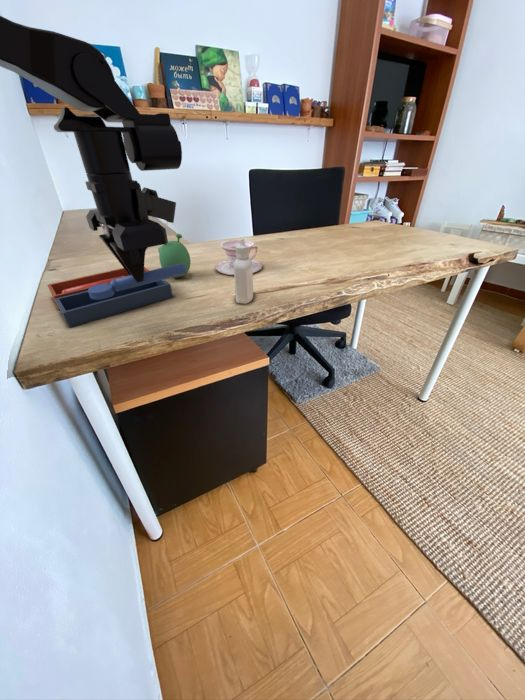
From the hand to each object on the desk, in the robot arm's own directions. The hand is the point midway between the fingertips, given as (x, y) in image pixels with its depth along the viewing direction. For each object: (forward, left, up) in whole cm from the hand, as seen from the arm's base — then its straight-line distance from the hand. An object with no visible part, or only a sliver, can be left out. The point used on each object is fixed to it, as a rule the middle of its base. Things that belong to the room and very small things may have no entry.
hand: (137, 279), depth 50 cm
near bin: (-2, +10, -8) cm, 13 cm away
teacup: (+29, +12, -8) cm, 32 cm away
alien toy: (+14, +17, -8) cm, 23 cm away
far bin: (-2, +19, -8) cm, 21 cm away
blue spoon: (+1, 0, -1) cm, 1 cm away
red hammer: (-2, +19, -7) cm, 20 cm away
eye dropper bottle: (+19, -4, -8) cm, 21 cm away
